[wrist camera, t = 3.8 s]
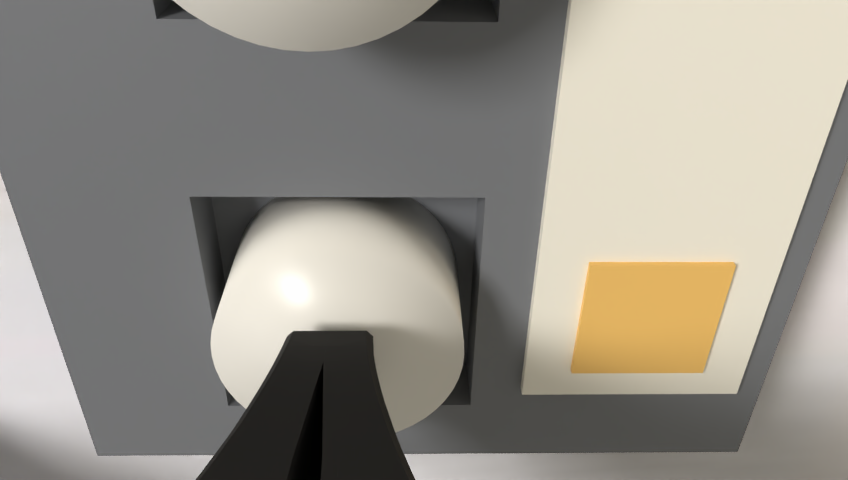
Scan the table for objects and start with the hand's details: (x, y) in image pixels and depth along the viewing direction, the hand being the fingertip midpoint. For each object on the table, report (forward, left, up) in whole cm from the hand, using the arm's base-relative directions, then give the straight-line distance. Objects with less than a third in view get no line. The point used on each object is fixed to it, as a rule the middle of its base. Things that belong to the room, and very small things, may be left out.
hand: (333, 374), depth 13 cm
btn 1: (0, 0, -3) cm, 3 cm away
